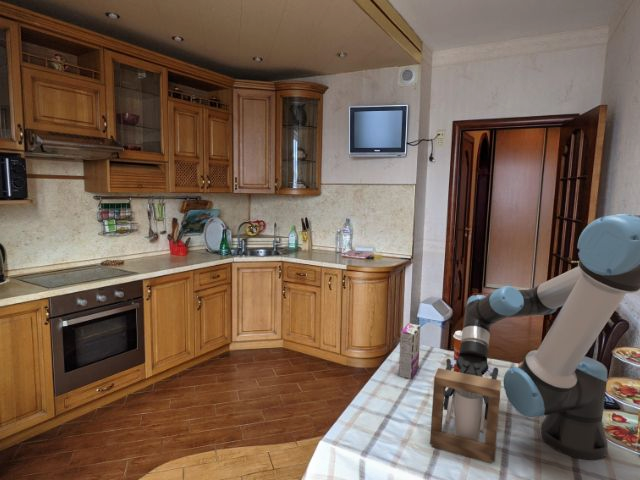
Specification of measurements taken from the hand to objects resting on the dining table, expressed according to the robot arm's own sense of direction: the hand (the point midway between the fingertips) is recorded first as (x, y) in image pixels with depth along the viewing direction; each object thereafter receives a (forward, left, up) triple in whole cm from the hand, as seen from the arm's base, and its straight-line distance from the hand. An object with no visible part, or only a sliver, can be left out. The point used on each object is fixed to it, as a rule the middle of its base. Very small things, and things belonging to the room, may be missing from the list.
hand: (464, 427), depth 107 cm
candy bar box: (+23, -37, -5) cm, 44 cm away
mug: (0, -4, -4) cm, 5 cm away
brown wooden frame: (0, +1, -5) cm, 5 cm away
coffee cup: (+5, -45, -5) cm, 46 cm away
